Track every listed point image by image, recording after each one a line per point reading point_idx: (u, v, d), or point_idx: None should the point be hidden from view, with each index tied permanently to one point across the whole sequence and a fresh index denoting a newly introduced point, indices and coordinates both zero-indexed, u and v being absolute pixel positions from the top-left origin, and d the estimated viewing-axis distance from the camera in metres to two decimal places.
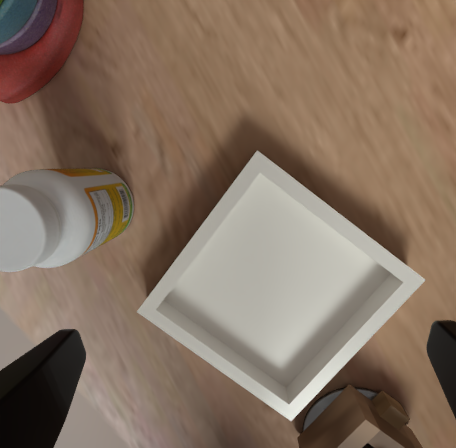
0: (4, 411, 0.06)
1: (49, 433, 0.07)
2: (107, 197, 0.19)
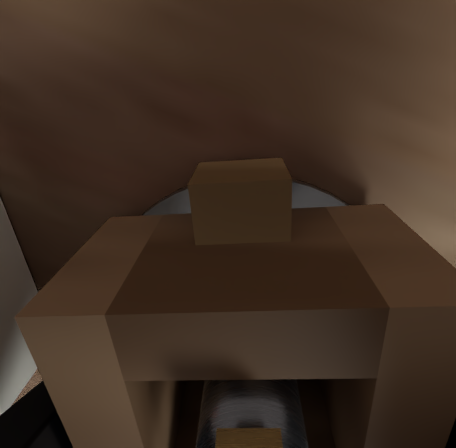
0: None
1: None
2: None
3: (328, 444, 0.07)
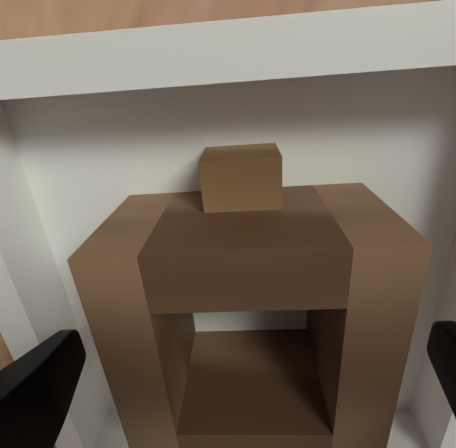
0: (4, 411, 0.06)
1: (49, 433, 0.07)
2: None
3: (315, 387, 0.09)
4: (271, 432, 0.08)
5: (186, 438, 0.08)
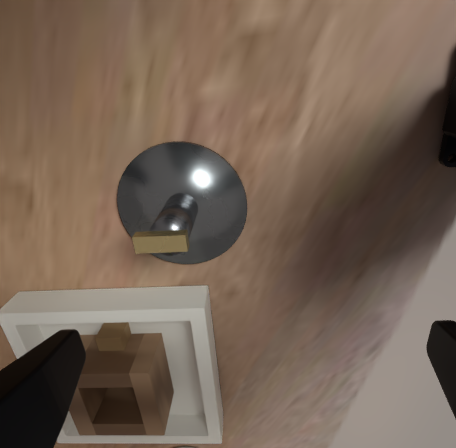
0: (4, 411, 0.06)
1: (49, 432, 0.07)
2: None
3: None
4: (123, 423, 0.23)
5: (95, 425, 0.23)
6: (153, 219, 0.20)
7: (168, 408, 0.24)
